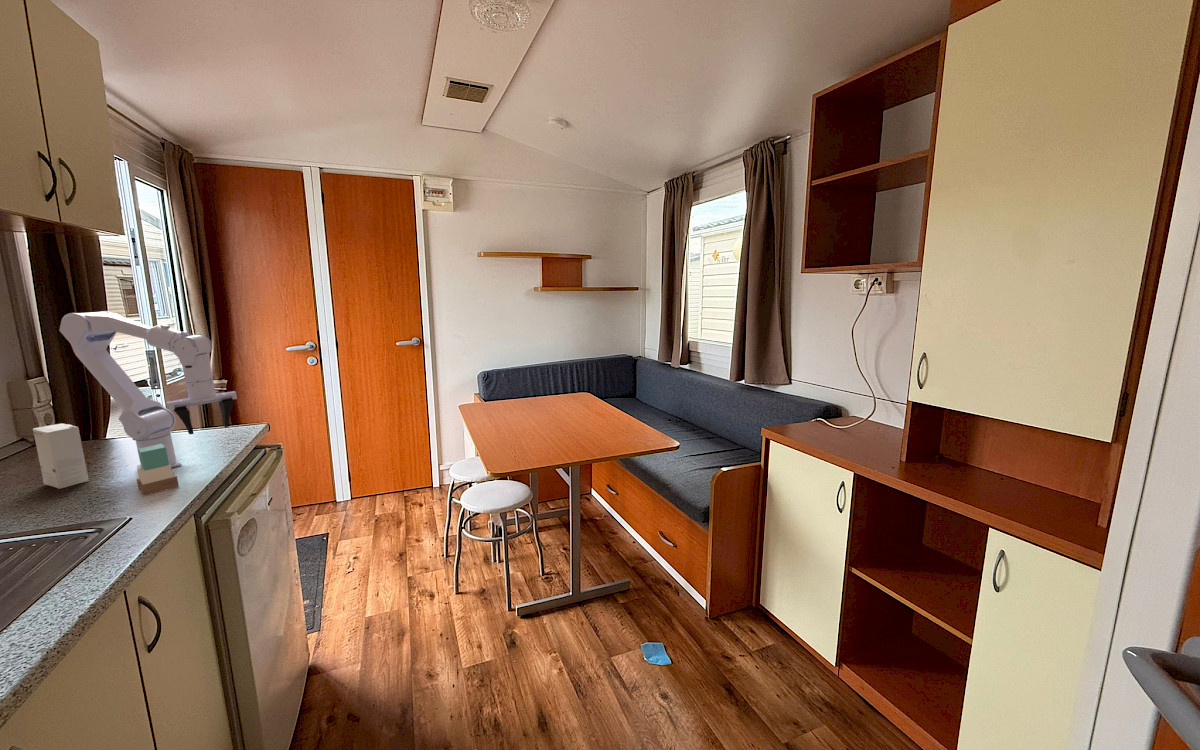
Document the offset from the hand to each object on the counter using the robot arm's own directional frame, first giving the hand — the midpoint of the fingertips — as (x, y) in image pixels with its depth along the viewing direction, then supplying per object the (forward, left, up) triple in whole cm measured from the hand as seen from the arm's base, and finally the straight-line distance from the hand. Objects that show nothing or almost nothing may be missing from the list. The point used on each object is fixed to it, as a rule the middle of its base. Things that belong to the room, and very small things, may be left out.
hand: (208, 429), depth 134 cm
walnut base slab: (+8, -13, -10) cm, 18 cm away
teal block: (+8, -13, -4) cm, 16 cm away
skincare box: (-17, -27, -10) cm, 33 cm away
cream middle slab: (+8, -13, -7) cm, 17 cm away
